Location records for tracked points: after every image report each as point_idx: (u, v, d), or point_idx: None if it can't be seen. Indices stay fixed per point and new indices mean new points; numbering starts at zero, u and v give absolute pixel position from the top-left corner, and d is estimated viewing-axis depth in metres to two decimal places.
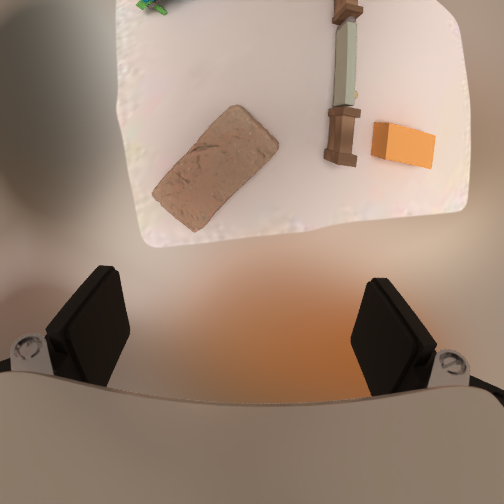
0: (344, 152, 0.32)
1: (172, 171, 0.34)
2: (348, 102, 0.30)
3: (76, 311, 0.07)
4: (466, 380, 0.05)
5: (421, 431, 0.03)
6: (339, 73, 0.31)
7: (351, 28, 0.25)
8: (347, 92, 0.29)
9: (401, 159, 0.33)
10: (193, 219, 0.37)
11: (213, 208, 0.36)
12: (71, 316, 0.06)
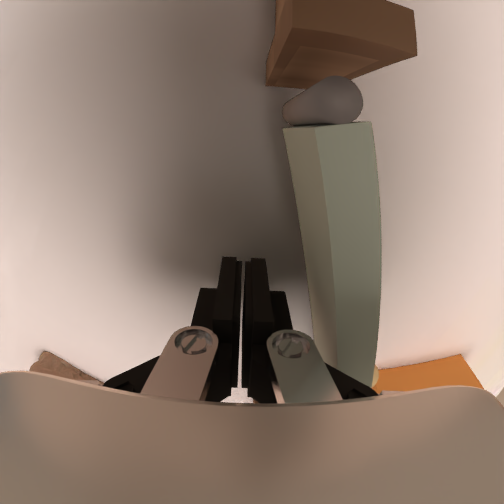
0: None
1: None
2: None
3: (233, 299, 0.08)
4: (317, 356, 0.06)
5: (421, 431, 0.03)
6: (318, 324, 0.11)
7: (346, 174, 0.05)
8: None
9: None
10: None
11: None
12: (233, 304, 0.08)
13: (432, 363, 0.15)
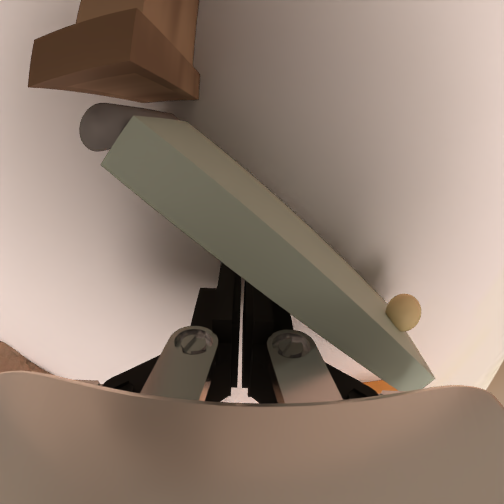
0: None
1: None
2: (416, 389, 0.08)
3: (233, 299, 0.08)
4: (317, 356, 0.06)
5: (421, 431, 0.03)
6: None
7: (150, 174, 0.05)
8: (399, 381, 0.08)
9: None
10: None
11: None
12: (233, 304, 0.08)
13: (368, 384, 0.15)
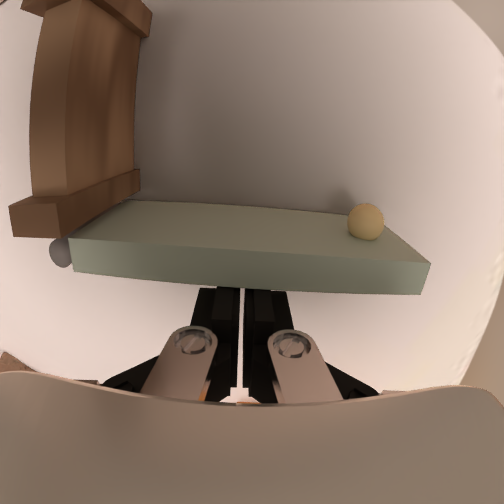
0: None
1: None
2: (419, 283, 0.08)
3: (232, 299, 0.08)
4: (318, 356, 0.06)
5: (421, 431, 0.03)
6: None
7: (95, 260, 0.08)
8: (386, 286, 0.08)
9: None
10: None
11: None
12: (232, 304, 0.08)
13: None
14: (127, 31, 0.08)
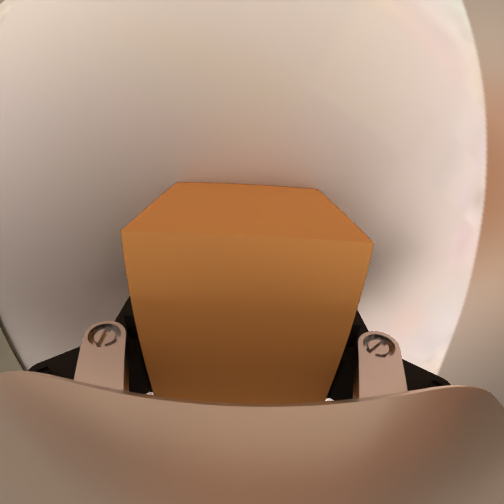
0: None
1: None
2: None
3: None
4: (399, 359, 0.06)
5: (421, 431, 0.03)
6: None
7: None
8: None
9: None
10: None
11: None
12: None
13: None
14: None
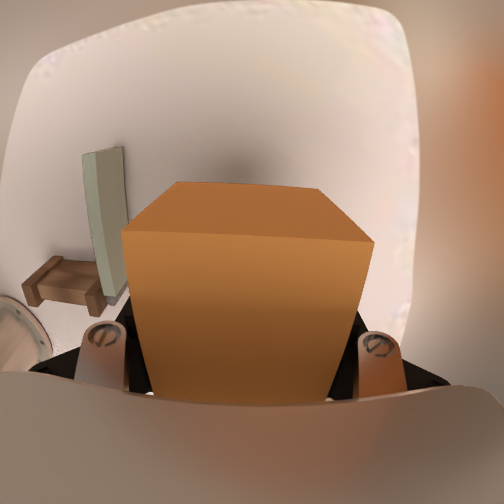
0: None
1: None
2: (90, 156, 0.17)
3: None
4: (399, 359, 0.06)
5: (421, 431, 0.03)
6: (117, 202, 0.22)
7: (108, 285, 0.22)
8: (93, 174, 0.18)
9: None
10: None
11: None
12: None
13: None
14: (57, 266, 0.25)
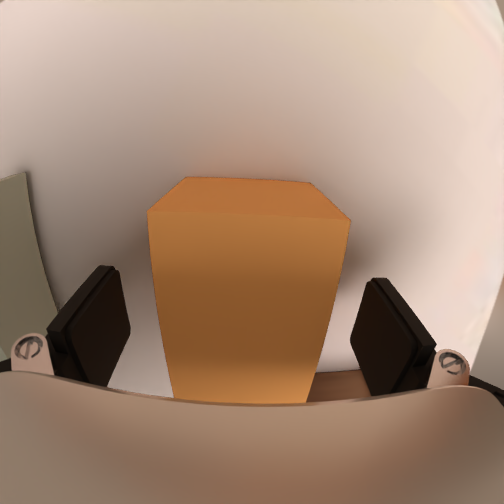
0: None
1: None
2: None
3: (77, 311, 0.07)
4: (466, 380, 0.05)
5: (421, 431, 0.03)
6: (21, 274, 0.10)
7: None
8: None
9: (302, 373, 0.09)
10: None
11: None
12: (71, 316, 0.06)
13: None
14: None
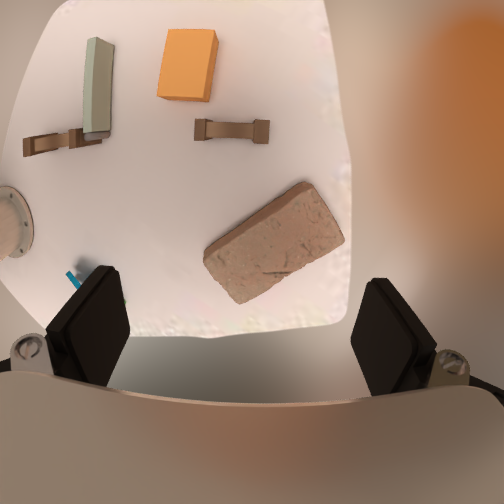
0: (252, 132, 0.27)
1: (315, 258, 0.34)
2: (92, 39, 0.21)
3: (76, 311, 0.07)
4: (466, 380, 0.05)
5: (421, 431, 0.03)
6: (105, 74, 0.26)
7: (87, 123, 0.25)
8: (92, 48, 0.22)
9: (202, 74, 0.25)
10: (309, 204, 0.31)
11: (283, 212, 0.32)
12: (71, 316, 0.06)
13: None
14: (52, 136, 0.29)
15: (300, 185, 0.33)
